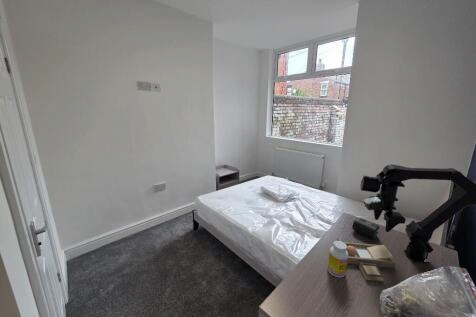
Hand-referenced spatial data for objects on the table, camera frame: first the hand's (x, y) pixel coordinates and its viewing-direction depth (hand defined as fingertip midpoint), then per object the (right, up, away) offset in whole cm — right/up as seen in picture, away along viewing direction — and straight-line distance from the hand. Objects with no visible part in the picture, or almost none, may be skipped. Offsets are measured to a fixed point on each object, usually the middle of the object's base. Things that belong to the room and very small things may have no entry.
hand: (381, 225), depth 90 cm
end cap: (0, -9, +13) cm, 16 cm away
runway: (-9, -13, -2) cm, 16 cm away
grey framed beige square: (-12, -16, -11) cm, 23 cm away
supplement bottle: (-25, -16, -9) cm, 31 cm away
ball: (-15, -11, -2) cm, 18 cm away
